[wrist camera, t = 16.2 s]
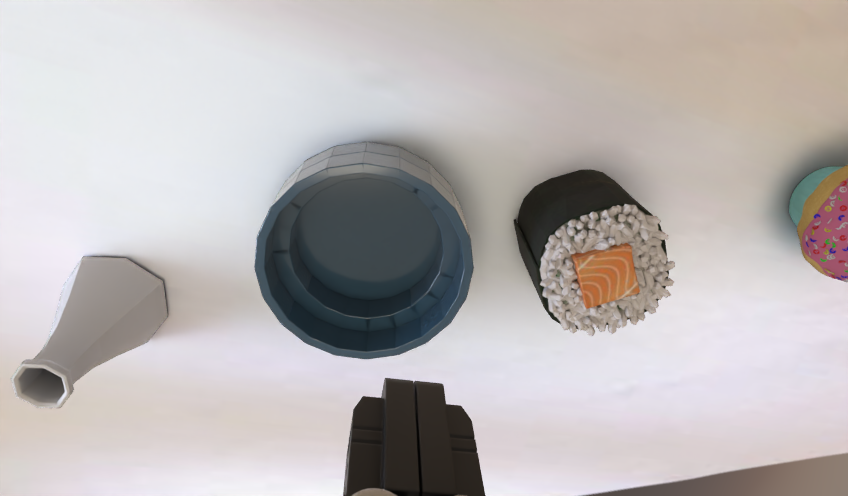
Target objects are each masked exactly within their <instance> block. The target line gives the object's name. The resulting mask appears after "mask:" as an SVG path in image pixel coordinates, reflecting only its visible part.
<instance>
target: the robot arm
mask: <svg viewBox="0 0 848 496" xmlns="http://www.w3.org/2000/svg"><path fill="white" fill-rule="evenodd" d="M343 496H485V492H484V486H483V481H482V475H481V470H480V464H479V459H478V453H477V448H476V442H475V440H474V431H473V426H472V421H471V419H470V418H469V416H468V415H467V413H466V412H465V411H464V409H463V408H462V406H458V405H448V404H446V401H445V394H444V386H443V384H440V383H430V382H420V381H415V382H414V383H413V381H410V380H400V379H390V378H385V380H384V385H383V391H382V397H381V398H376V397H365V396H363V397H362V398H361V400H360V401H359V403H358V404H357V405H356V407H355V408H354V410H353V417H352V424H351V431H350V437H349V444H348V451H347V459H346V470H345V481H344V492H343Z"/></svg>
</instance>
